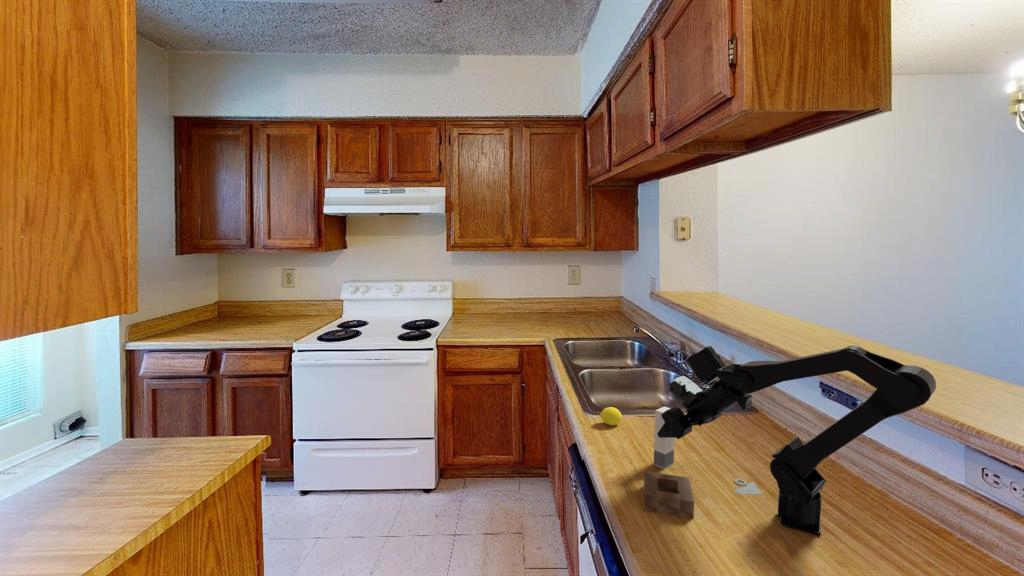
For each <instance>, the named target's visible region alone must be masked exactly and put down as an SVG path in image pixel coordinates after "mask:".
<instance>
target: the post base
mask: <svg viewBox="0 0 1024 576" xmlns="http://www.w3.org/2000/svg"><path fill="white" fill-rule="evenodd" d="M643 472H644V473H643V474H644V475H643V511H647V512H652V513H659V514H663V515H664V514H665V515H669V516H670V515H671V516H675V517H676V516H677V517H683V518H689V519H694V517H695V514H694V513H695V499H694V494H693V488H692V485H691V484H692V483H691V479H690V477H686V476H681V475H674V474H665V473H659V472H651V471H646V470H645V471H643Z"/></svg>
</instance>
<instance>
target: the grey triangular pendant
mask: <svg viewBox="0 0 1024 576" xmlns="http://www.w3.org/2000/svg"><path fill="white" fill-rule="evenodd" d="M740 482H742V483H740ZM733 483H734V484H735V485H737V486H741V487H739V488H738V489H735V490H734V491H733V492H734V493H735V494H740V495H755V496H756V495H757V496H761V495H763V492H762V491H761V490H760V489H759V487H757V485H756V484H755V483H754V482H753V481H751V482H747V481H746V480H744V479H742V478H734V480H733Z"/></svg>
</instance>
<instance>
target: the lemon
mask: <svg viewBox="0 0 1024 576" xmlns="http://www.w3.org/2000/svg"><path fill="white" fill-rule="evenodd" d="M599 417H600V418H601V420H602V422H603V423H605V425H608V426H612V427H613V426H616V425H618V424H620V423H621V421H622V420H623V416H622V413H621V411H620V410H619V409H618V408H616V407H611V406H609V407H606V408H603V410H602V411H601V412H600V414H599Z"/></svg>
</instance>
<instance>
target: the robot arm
mask: <svg viewBox="0 0 1024 576" xmlns="http://www.w3.org/2000/svg"><path fill="white" fill-rule="evenodd" d="M684 362H685V364H686V365H687V366H688V367H689V368H690V370H691V371H692V372H693V374H694V375H695V376H696V378H697V379H698V380H699V382H700V383H702V384H704V383H705V382H706V383H707V384H708V385H709V384H711V383H713V382H714V381H716V380H717V379H718V381H716V382H714V383H713V384H712V385H711V386H709V387H707V388H705V389H702V388H700V387H699V386H698V384H696V383H695V382H694V381H692V380H691V379H690V378H688V377H687V376H685V375H680V376H679V377H675V378H674V379H673V380H672V382H671V383H669V384H668V386H669V392H670V393H671V394H673V395H674V396H675V397H676V398H680V399H681V400H682V401H683V402H682V403H681V404H682V406H683V407H684V408H686V409H685V410H686V414H685V413H684V412H683V410H682V409H681V408H680V407H677V406H673V407H670V408H671V409H668V410H666V411H665V412H664V413H662V414H661V416H662V418H663V420H664V421H665V423H664V425H663V426H662V427H661V429H660V430H659V432H658V433H657V435H658V436H659V437H660V438H674V439H677V440H680V439H681V438H683V437H685V436H687V435H689V434H690V433H692V432H693V427H694V426H699V427H700V426H702V425H706V424H710V423H711V422H714V421H715V420H717V419H719V418H720V417H723V413H724V412H726V411H727V410H729V409H730V408H731V407H734V405H736V404H738V405H739V407H740V408H741V409H742V410H746V409H748V408H750V407H752V405H753V402H752V397H753V395H752V394H753V393H756V392H759V391H761V390H765V389H767V388H769V387H772V386H774V385H777V384H780V383H783V382H788V381H794V380H800V379H805V378H810V377H811V378H812V377H818V376H823V375H829V374H836V373H840V372H841V373H842V372H850V373H851V374H854V375H855V376H857V377H858V378H860V379H861V380H862V381H864V382H865V383H867V384H868V385H870V386H872V387H873V388H875V390H874V392H872V394H871V395H870V396H869V397H868V398H867V399H866V400H864V401H862V403H860V404H859V405H857V406H856V407H855V408H853V409H852V410H851V411H849V412H848V413H846V414H845V415H843V416H842V417H841V418H839V419H838V420H836V421H835V422H834V423H832V424H831V425H829V426H828V427H826V428H825V429H824V430H822V431H821V432H819V433H818V434H817V435H815V436H814V437H812V438H811V439H808V440H806V441H802V440H801V439H800V437H799V435H798V436H795V437H794V438H793V439H792V440H791V441H789V442H788V443H787V444H785V445H782V447H780V448H779V449H777V451H776V452H774V453H772V454H771V457H772V458H773V459H772V460H771V461H770V462H769V470H770V474H771V475H772V477H773V478H774V480H775V481H776V484H777V487H778V490H779V491H778V499H777V516H778V517H779V518H780V522H779V523H780V524H781V525H782V526H785V527H787V528H793V529H796V530H799V531H804V532H807V533H811V534H814V535H817V536H819V535H822V530H821V525H820V524H821V513H822V495H821V492H820V490H822V489H823V488H824V486H825V485H826V483H827V480H826V478H824V476H823V475H822V474H821V473H820V472H819V471H818V470H817V467H818V466H819V465H820V464H821V462H822V461H823V460H825V459H827V458H828V457H830V456H831V455H833V454H834V453H836V452H838V451H839V450H840V449H842V448H843V447H844V446H847V444H849V443H851V442H852V441H854V440H855V439H857V438H858V437H860V436H862V435H863V434H864V433H865V432H868V431H870V429H872V428H874V427H875V426H876V425H878V424H879V423H881V422H882V421H884V420H887V419H889V418H891V417H895V416H898V415H902V414H904V413H907V412H910V411H911V410H914V409H916V408H919V407H922V406H924V405H925V404H926V403H927V402H929V400H930V398H931V397H932V396H933V394H934V393H935V391H936V388H937V383H936V379H935V377H934V376H933V374H932V373H931V372H930V371H929V370H927V369H926V368H924V367H921V366H918V365H911V364H908V365H907V364H906V365H905V364H903V363H901V362H899V361H896V360H895V359H892V358H889V357H885V356H883V355H880V354H877V353H874V352H871V351H869V350H867V349H864V348H863V347H861V346H858V345H847V346H846V347H843V348H839V349H835V350H830V351H824V352H820V353H815V354H810V355H805V356H804V355H803V356H800V357H795V358H791V359H785V360H753V361H752V360H751V361H748V362H746V363H744V364H742V363H739V364H738V363H729V364H725V362H724V361H723V360H722V359H721V357H719V355H718V354H717V352H716V350H715V348H713V346H712V345H707V346H706V347H704V348H703V349H701V350H700V351H697V352H695V353H694V354H691V355H690V356H689V357H687V358H686V359H685V361H684Z"/></svg>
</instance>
